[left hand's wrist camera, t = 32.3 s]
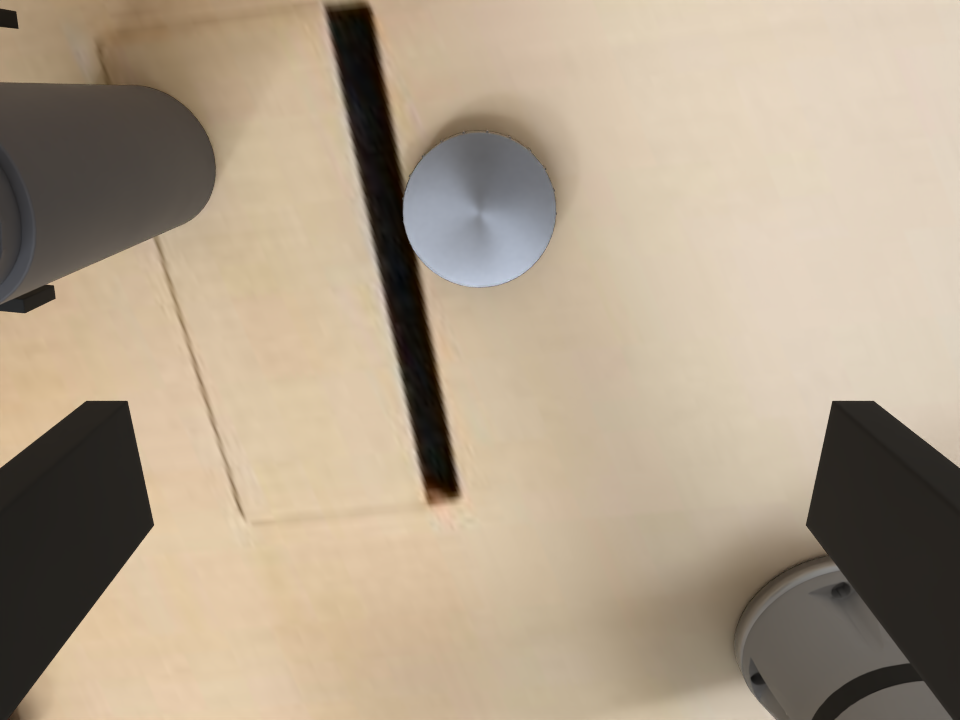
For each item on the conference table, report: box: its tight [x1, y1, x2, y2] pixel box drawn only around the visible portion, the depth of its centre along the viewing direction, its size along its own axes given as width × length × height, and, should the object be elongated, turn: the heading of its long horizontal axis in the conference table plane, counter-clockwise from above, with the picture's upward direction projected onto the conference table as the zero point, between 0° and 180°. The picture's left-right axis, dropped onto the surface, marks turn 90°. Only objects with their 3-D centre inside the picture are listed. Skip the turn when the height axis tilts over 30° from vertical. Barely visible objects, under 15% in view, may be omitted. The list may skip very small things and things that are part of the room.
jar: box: [0, 82, 215, 304], centre depth 30 cm, size 8×8×19 cm
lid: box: [403, 129, 557, 288], centre depth 39 cm, size 9×9×2 cm
